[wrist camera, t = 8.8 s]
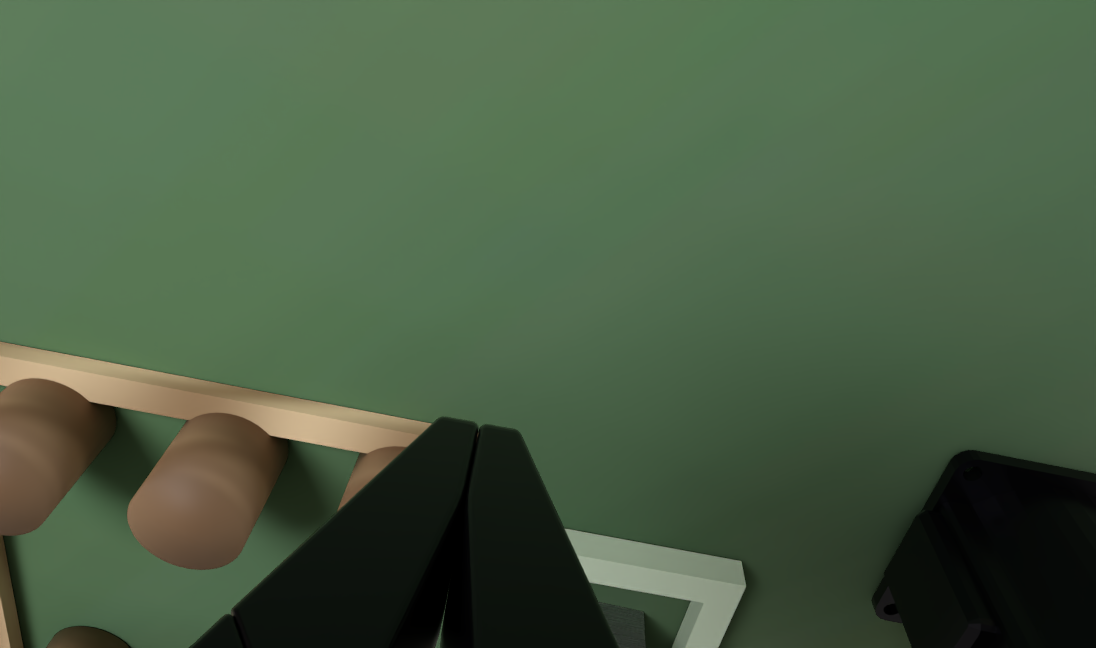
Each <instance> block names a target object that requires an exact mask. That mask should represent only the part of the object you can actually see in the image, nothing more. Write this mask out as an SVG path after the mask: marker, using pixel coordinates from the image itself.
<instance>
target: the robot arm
mask: <svg viewBox="0 0 1096 648" xmlns="http://www.w3.org/2000/svg"><path fill="white" fill-rule="evenodd" d="M477 435H478V436H477ZM970 467H975V468H974V469H973V470H970V471H965V470H966V469H968V468H970ZM450 579H451V580H450ZM448 590H449V591H448ZM447 595H448V597H447ZM446 600H447V602H446ZM872 603H873V606H874V609H875V612H876V615H877V616H878V617H879V618H881V619H884V620H887V621H893V622H898V623H903V626H904V628H905V631H906V633H907V636H908V639H909V641H910V644H911V646H912V648H1096V474H1093V473H1088V472H1083V471H1078V470H1073V469H1068V468H1063V467H1057V466H1052V465H1047V464H1042V463H1037V462H1032V461H1027V460H1021V459H1016V458H1011V457H1006V456H1001V455H996V454H991V453H986V452H980V451H974V450H967V451H964V452H960V453H959V454H957V455H955V456H954V457H953V458H952V459H951V461H950V462H949V464H948V466H947V467H946V469H945V471H944V473H943V474H942V476H941V478H940V480H939V481H938V483H937V485H936V487H935V488H934V490H933V492H932V494H931V495H930V497H929V499H928V501H927V502H926V504H925V506H924V508H923V509H922V511H921V512H920V513H919V514H918V515H917V516H916V518H915V519H914V521H913V523H912V525H911V526H910V528H909V530H908V532H907V533H906V535H905V537H904V539H903V540H902V542H901V544H900V546H899V547H898V549H897V551H896V553H895V554H894V556H893V558H892V560H891V561H890V563H889V565H888V567H887V568H886V570H885V572H884V578H883V579H882V581H881V583H880V585H879V586H878V588H877V590H876V592H875V593H874V595H873V597H872ZM889 604H890V605H889ZM445 605H446V608H445ZM444 610H445V614H444ZM443 615H444V620H443V626H442V632H441V642H440V648H619V646H618V643H617V641H616V639H615V637H614V635H613V633H612V630H611V628H610V626H609V624H608V622H607V620H606V617H605V615H604V613H603V611H602V609H601V607H600V604H599V602H598V600H597V598H596V596H595V593H594V591H593V589H592V587H591V585H590V583H589V580H588V578H587V576H586V574H585V572H584V570H583V567H582V565H581V563H580V561H579V559H578V557H577V554H576V552H575V550H574V548H573V546H572V544H571V541H570V539H569V537H568V535H567V533H566V531H565V528H564V526H563V524H562V522H561V520H560V518H559V515H558V513H557V511H556V509H555V507H554V505H553V502H552V500H551V498H550V496H549V494H548V492H547V489H546V487H545V485H544V483H543V481H542V479H541V476H540V474H539V472H538V470H537V468H536V465H535V463H534V461H533V459H532V457H531V455H530V452H529V450H528V448H527V446H526V444H525V442H524V439H523V437H522V435H521V434H520V432H519V431H518V430H516V429H512V428H506V427H501V426H495V425H489V424H484V425H482V426H481V427H480V429H479V432H478V425H477V424H476V423H475V422H473V421H467V420H462V419H456V418H451V417H440V418H438V419H437V420H436V421H435V422H433V423H432V424H431V425H430V426H429V427H428V428H427V429H426V430H425V431H424V432H423V433H422V434H420V435H419V436H418V437H417V438H416V439H415V440H414V441H413V442H412V443H411V444H410V445H409V446H407V447H406V448H405V449H404V450H403V451H402V452H401V453H400V454H399V455H398V456H397V457H396V458H394V459H393V460H392V461H391V462H390V463H389V464H388V465H387V466H386V467H385V468H384V469H383V470H381V471H380V472H379V473H378V474H377V475H376V476H375V477H374V478H373V479H372V480H371V481H370V482H368V483H367V484H366V485H365V486H364V487H363V488H362V489H361V490H360V491H359V492H358V493H357V494H355V495H354V496H353V497H352V498H351V499H350V500H349V501H348V502H347V503H346V504H345V505H344V506H342V507H341V508H340V509H339V510H338V511H337V512H336V513H335V514H334V515H333V516H332V517H331V518H329V519H328V520H327V521H326V522H325V523H324V524H323V525H322V526H321V527H320V528H319V529H318V530H316V531H315V532H314V533H313V534H312V535H311V536H310V537H309V538H308V539H307V540H306V541H305V542H303V543H302V544H301V545H300V546H299V547H298V548H297V549H296V550H295V551H294V552H293V553H292V554H290V555H289V556H288V557H287V558H286V559H285V560H284V561H283V562H282V563H281V564H280V565H279V566H277V567H276V568H275V569H274V570H273V571H272V572H271V573H270V574H269V575H268V576H267V577H266V578H264V579H263V580H262V581H261V582H260V583H259V584H258V585H257V586H256V587H255V588H254V589H253V590H251V591H250V592H249V593H248V594H247V595H246V596H245V597H244V598H243V599H242V600H241V601H240V602H238V603H237V604H236V605H235V606H234V607H233V608H232V610H231V615H230V614H226V615H224V616H223V617H222V618H220V619H219V620H218V621H217V622H216V623H215V624H214V625H213V626H212V627H211V628H210V629H209V630H208V631H207V632H205V633H204V634H203V635H202V636H201V637H200V638H199V639H198V640H197V641H196V642H195V643H194V644H193V645H191V646H190V647H189V648H435V646H436V643H437V640H438V636H439V633H440V628H441V624H442V619H443Z"/></svg>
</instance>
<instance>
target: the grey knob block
mask: <svg viewBox="0 0 1096 648" xmlns="http://www.w3.org/2000/svg"><path fill="white" fill-rule="evenodd" d="M599 604H600V607H601V609H602V611H603V613H604V615H605V617H606V620H607V622H608V624H609V626H610V628H611V630H612V633H613V635H614V637H615V639H616V641H617V643H618V646H619V648H646V644H645V627H644V612H643V611H638V610H634V609H629V608H625V607H620V606H615V605H611V604H606V603H602V602H599Z"/></svg>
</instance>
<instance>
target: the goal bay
mask: <svg viewBox="0 0 1096 648" xmlns="http://www.w3.org/2000/svg"><path fill="white" fill-rule="evenodd" d="M565 531H566V533H567V535H568V537H569V539H570V541H571V544H572V546H573V548H574V550H575V552H576V554H577V557H578V559H579V561H580V563H581V565H582V567H583V570H584V572H585V574H586V576H587V578H588V580H589V582H591V583H596V584H602V585H607V586H613V587H618V588H624V589H629V590H635V591H640V592H646V593H651V594H657V595H662V596H668V597H673V598H679V599H684V600H690V601H691V602H690V604H689V607H688V609H687V612H686V614H685V617H684V619H683V621H682V624H681V626H680V629H679V631H678V634H677V636H676V638H675V641H674V643H673V646H672V648H718V647H719V645H720V643H721V641H722V638H723V636H724V634H725V632H726V630H727V627H728V625H729V623H730V621H731V619H732V616H733V614H734V612H735V610H736V608H737V605H738V603H739V601H740V599H741V597H742V595H743V592H744V590H745V588H746V582H745V577H744V572H743V567H742V562H741V561H738V560H733V559H727V558H722V557H716V556H711V555H705V554H700V553H695V552H689V551H684V550H678V549H673V548H668V547H662V546H657V545H651V544H646V543H640V542H635V541H630V540H624V539H619V538H613V537H608V536H603V535H597V534H592V533H586V532H581V531H576V530H570V529H565Z"/></svg>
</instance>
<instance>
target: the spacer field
mask: <svg viewBox="0 0 1096 648" xmlns="http://www.w3.org/2000/svg"><path fill="white" fill-rule="evenodd" d="M0 385H3V386H7V387H6V388H5V389H4V390H3V391H2V392H1V393H0V648H23V642H22V637H21V632H20V626H19V621H18V615H17V610H16V605H15V599H14V594H13V589H12V583H11V578H10V573H9V567H8V562H7V557H6V551H5V546H4V541H3V535H8V536H13V535H21V534H26V533H29V532H31V531H33V530H35V529H37V528H38V527H39V526H40V525H41V524H42V523H43V522H44V521H45V520H46V518H47V517H48V516H49V515H50V513H51V512H52V511H53V510H54V508H55V507H56V506H57V505H58V504H59V502H60V501H61V500H62V499H63V497H64V496H65V495H66V494H67V492H68V491H69V490H70V489H71V487H72V486H73V485H74V484H75V482H76V481H77V480H78V479H79V478H80V476H81V475H82V474H83V473H84V471H85V470H86V469H87V468H88V466H89V465H90V464H91V463H92V461H93V460H94V459H95V458H96V456H97V455H98V454H99V453H100V452H101V450H102V449H103V448H104V447H105V445H106V444H107V443H108V442H109V440H110V439H111V438H112V436H113V435H114V432H115V430H116V414H115V411H114V408H113V406H115V407H121V408H126V409H131V410H137V411H142V412H147V413H153V414H158V415H164V416H169V417H174V418H180V419H185V420H187V421H186V423H185V424H184V426H183V427H182V429H181V430H180V431H179V433H178V434H177V436H176V437H175V438H174V440H173V441H172V443H171V444H170V446H169V447H168V448H167V450H166V451H165V453H164V454H163V456H162V457H161V458H160V460H159V461H158V463H157V464H156V466H155V467H154V468H153V470H152V471H151V473H150V474H149V475H148V477H147V478H146V480H145V481H144V483H143V484H142V485H141V487H140V488H139V490H138V491H137V493H136V494H135V495H134V497H133V498H132V500H131V501H130V504H129V506H128V511H127V518H128V523H129V526H130V529H131V531H132V533H133V535H134V536H135V537H136V539H137V540H138V541H139V542H140V544H141V545H142V546H143V547H144V548H146V549H147V550H148V551H149V552H151V553H152V554H153V555H155V556H156V557H158V558H160V559H162V560H164V561H166V562H168V563H171V564H173V565H176V566H179V567H183V568H188V569H197V570H206V569H214V568H218V567H222V566H224V565H227V564H229V563H230V562H232V561H233V560H234V559H236V558H237V557H238V555H239V554H240V553H241V551H242V549H243V547H244V545H245V543H246V541H247V539H248V537H249V535H250V533H251V531H252V529H253V527H254V525H255V523H256V521H257V519H258V517H259V515H260V513H261V511H262V509H263V507H264V505H265V503H266V501H267V499H268V497H269V495H270V493H271V491H272V489H273V487H274V485H275V483H276V481H277V479H278V477H279V475H280V473H281V471H282V469H283V467H284V465H285V463H286V461H287V458H288V452H289V450H288V442H287V439H292V440H297V441H302V442H308V443H313V444H318V445H324V446H329V447H335V448H340V449H345V450H351V451H356V452H360V454H359V456H358V459H357V461H356V464H355V467H354V469H353V472H352V474H351V477H350V479H349V482H348V485H347V487H346V490H345V492H344V495H343V498H342V500H341V503H340V505H339V508H338V510H339V509H340V508H341V507H342V506H344V505H345V504H346V503H347V502H348V501H349V500H350V499H351V498H352V497H353V496H354V495H355V494H357V493H358V492H359V491H360V490H361V489H362V488H363V487H364V486H365V485H366V484H367V483H368V482H370V481H371V480H372V479H373V478H374V477H375V476H376V475H377V474H378V473H379V472H380V471H381V470H383V469H384V468H385V467H386V466H387V465H388V464H389V463H390V462H391V461H392V460H393V459H394V458H396V457H397V456H398V455H399V454H400V453H401V452H402V451H403V450H404V449H405V448H406V447H407V446H409V445H410V444H411V443H412V442H413V441H414V440H415V439H416V438H417V437H418V436H419V435H420V434H422V433H423V432H424V431H425V430H426V429H427V428H428V427H429V426H430V425H431V423H426V422H420V421H415V420H410V419H405V418H399V417H394V416H389V415H383V414H378V413H373V412H368V411H362V410H357V409H352V408H347V407H341V406H336V405H331V404H326V403H320V402H315V401H310V400H304V399H299V398H294V397H289V396H283V395H278V394H273V393H268V392H262V391H257V390H252V389H246V388H241V387H236V386H231V385H225V384H220V383H215V382H210V381H204V380H199V379H194V378H189V377H183V376H178V375H173V374H167V373H162V372H157V371H152V370H146V369H141V368H136V367H131V366H125V365H120V364H115V363H109V362H104V361H99V360H94V359H88V358H83V357H78V356H73V355H67V354H62V353H57V352H52V351H46V350H41V349H36V348H30V347H25V346H20V345H15V344H9V343H4V342H0ZM477 436H478V435H477ZM338 510H337V511H338ZM46 648H129V647H128V646H127V644H125V643H124V642H123V641H122V640H120V639H119V638H117V637H116V636H114V635H112V634H110V633H108V632H105V631H103V630H100V629H96V628H92V627H84V626H75V627H69V628H65V629H63V630H61V631H59V632H57V633H56V634H55V635H54V637H53V638H52V640H51V641H50V643H49V644H48V646H47V647H46Z"/></svg>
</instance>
